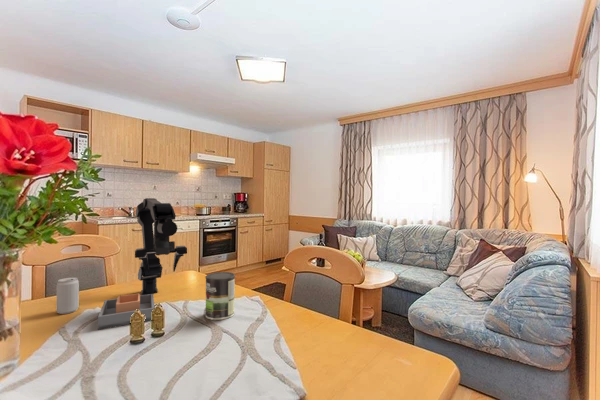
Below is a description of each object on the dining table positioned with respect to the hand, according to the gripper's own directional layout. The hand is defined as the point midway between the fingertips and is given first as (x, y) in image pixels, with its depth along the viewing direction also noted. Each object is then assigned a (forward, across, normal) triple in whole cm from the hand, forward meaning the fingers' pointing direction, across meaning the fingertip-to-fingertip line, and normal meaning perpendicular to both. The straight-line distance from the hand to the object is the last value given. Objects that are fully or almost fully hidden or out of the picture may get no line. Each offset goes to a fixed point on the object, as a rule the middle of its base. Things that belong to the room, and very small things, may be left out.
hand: (161, 272), depth 116 cm
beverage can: (+12, -31, +6) cm, 34 cm away
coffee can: (+12, +18, -24) cm, 32 cm away
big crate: (+12, -11, -9) cm, 19 cm away
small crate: (+11, -11, -9) cm, 18 cm away
